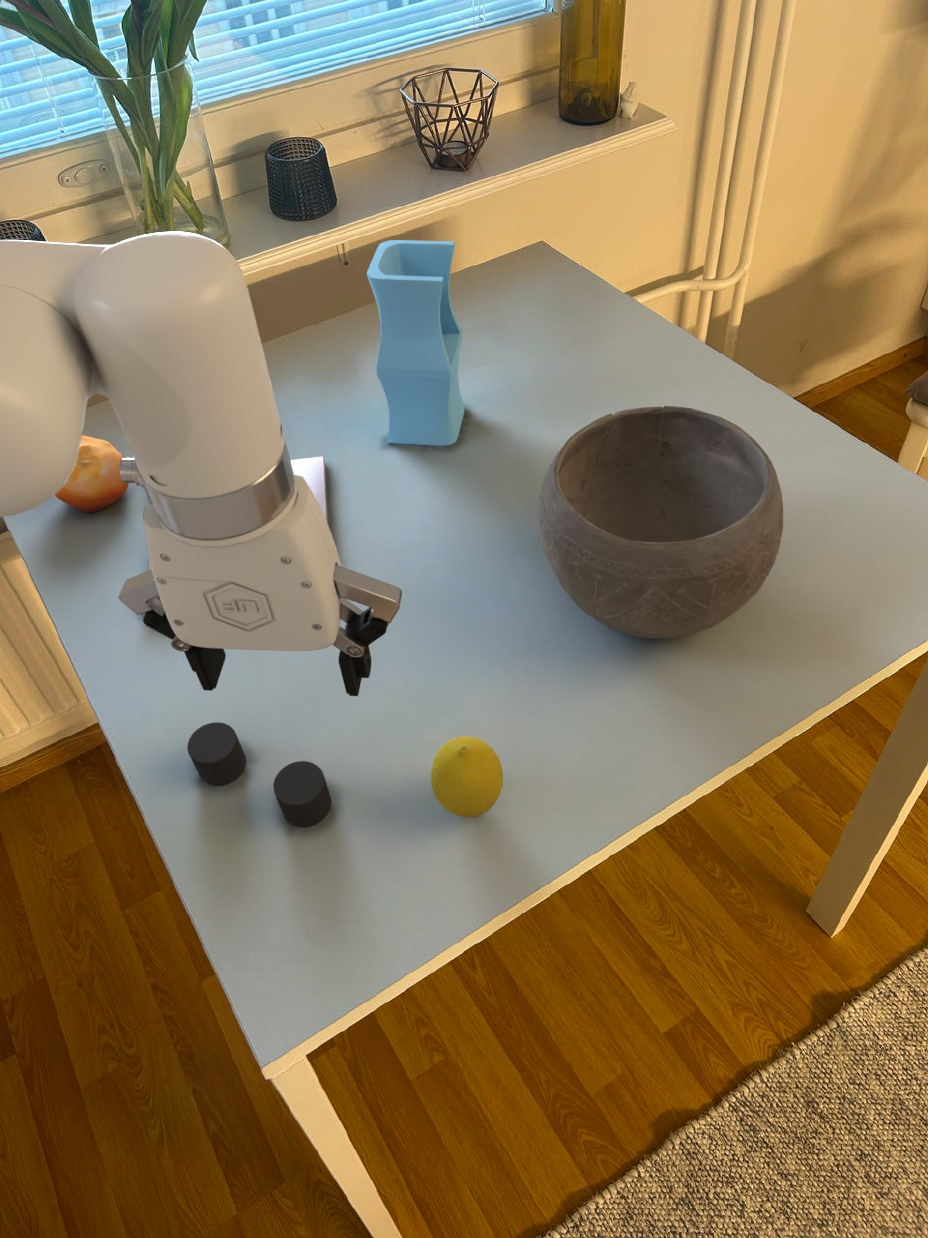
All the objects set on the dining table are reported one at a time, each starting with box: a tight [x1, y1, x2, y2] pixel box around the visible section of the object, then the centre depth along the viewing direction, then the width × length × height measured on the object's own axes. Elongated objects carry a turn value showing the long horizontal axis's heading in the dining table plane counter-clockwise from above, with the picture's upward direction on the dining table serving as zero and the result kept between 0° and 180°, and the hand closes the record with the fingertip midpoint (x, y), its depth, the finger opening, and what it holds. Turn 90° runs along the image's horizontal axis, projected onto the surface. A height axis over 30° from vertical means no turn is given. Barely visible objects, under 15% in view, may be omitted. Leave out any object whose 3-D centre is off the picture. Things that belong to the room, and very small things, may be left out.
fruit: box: [54, 435, 130, 514], centre depth 100 cm, size 8×8×8 cm
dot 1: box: [186, 721, 247, 787], centre depth 77 cm, size 4×4×4 cm
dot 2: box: [273, 760, 332, 828], centre depth 74 cm, size 4×4×4 cm
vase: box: [366, 239, 466, 447], centre depth 100 cm, size 8×8×20 cm
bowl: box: [538, 405, 784, 640], centre depth 83 cm, size 21×21×15 cm
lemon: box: [430, 735, 504, 818], centre depth 72 cm, size 6×6×8 cm
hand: (285, 676), depth 62 cm, fingers open, 9 cm apart
